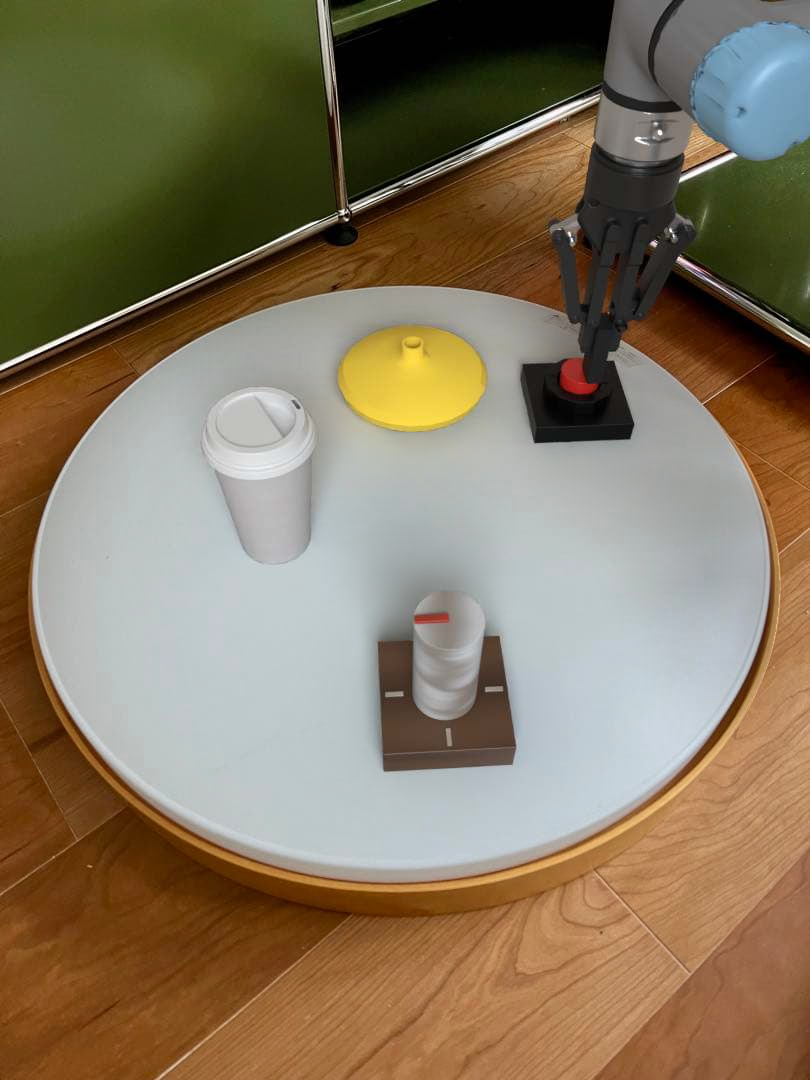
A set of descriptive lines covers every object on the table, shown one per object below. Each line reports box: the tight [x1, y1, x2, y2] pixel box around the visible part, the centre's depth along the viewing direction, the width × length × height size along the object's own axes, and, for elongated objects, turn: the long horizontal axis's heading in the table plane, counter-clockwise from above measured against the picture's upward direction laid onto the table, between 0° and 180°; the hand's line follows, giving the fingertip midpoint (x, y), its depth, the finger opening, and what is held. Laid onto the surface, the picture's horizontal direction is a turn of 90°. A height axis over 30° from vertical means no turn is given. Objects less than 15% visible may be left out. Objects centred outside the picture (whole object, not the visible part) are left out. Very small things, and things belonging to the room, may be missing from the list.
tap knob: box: [412, 590, 486, 720], centre depth 66 cm, size 5×5×10 cm
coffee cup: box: [200, 386, 318, 565], centre depth 78 cm, size 10×10×15 cm
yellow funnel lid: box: [337, 324, 488, 433], centre depth 94 cm, size 16×16×7 cm
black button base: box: [519, 357, 635, 444], centre depth 94 cm, size 10×10×4 cm
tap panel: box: [377, 635, 517, 773], centre depth 71 cm, size 10×10×3 cm
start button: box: [559, 357, 599, 395], centre depth 92 cm, size 4×4×2 cm
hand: (591, 374), depth 90 cm, fingers closed
